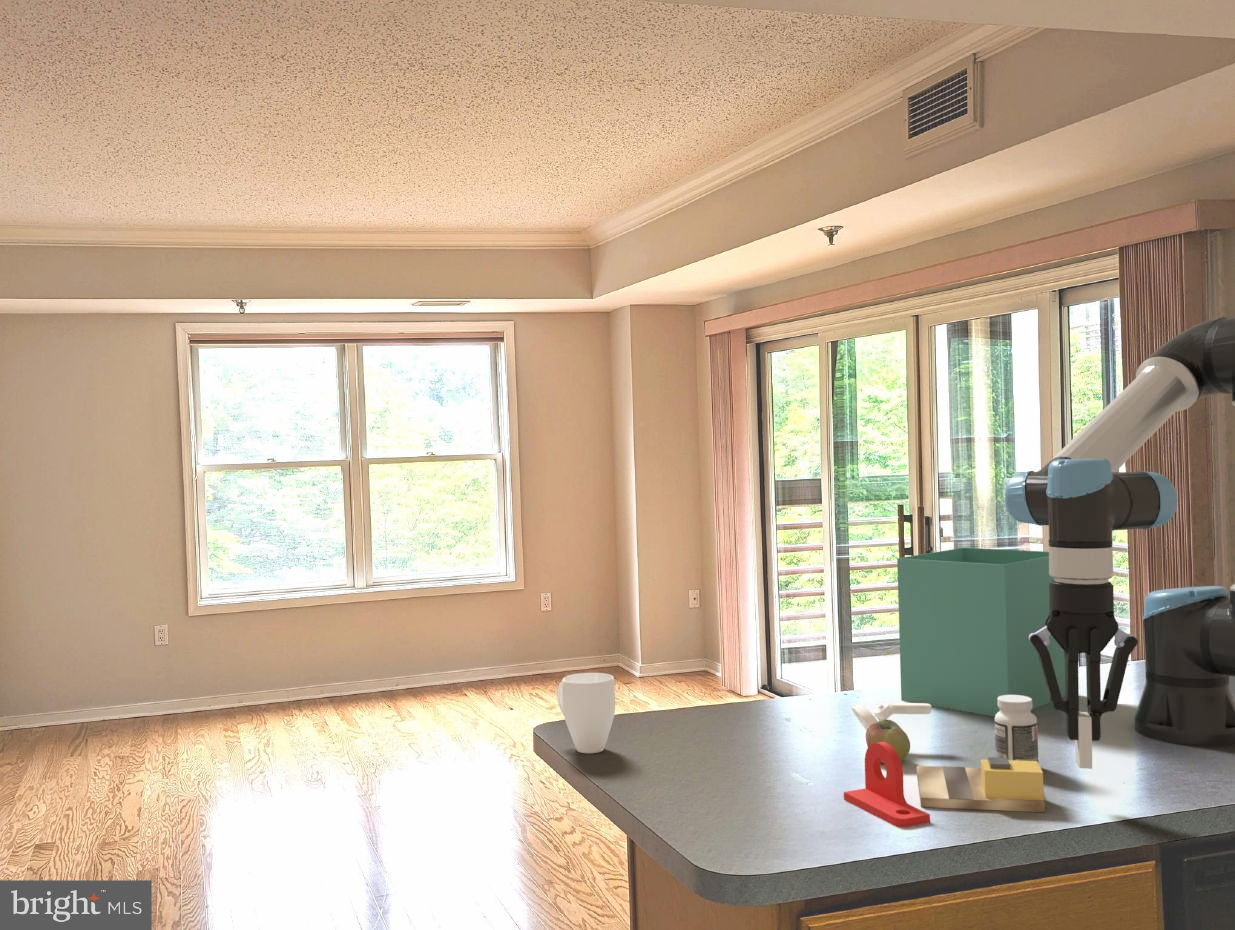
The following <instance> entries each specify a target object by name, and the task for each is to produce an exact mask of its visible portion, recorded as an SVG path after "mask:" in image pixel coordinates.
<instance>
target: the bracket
mask: <svg viewBox="0 0 1235 930" xmlns="http://www.w3.org/2000/svg"><path fill="white" fill-rule="evenodd" d="M864 756H865V757H864V776H865V777H864V780H865V781H864V782H865V783H864V784H865V785H864V786H865V788H859V789H854V790H848V791H844V792H843V801H846V802H848V803H849V804H852V805H853V806H856V807H857V808H859V809H861V810H863V811H865V812H867V813H868V814H871V815H873V816H875V817H877V818H879V819H881V820H883V821H884V822H886V823H889V824H890V825H892V826H894V827H898V828H909V827H912V826H918V825H925V824H928V823H931V814H930V813H928V812H926V811H923V810H922V809H919V808H918V807H915V806H913V805H911V804H909V803H908V802H907V800H906V798H905V795H904V791H905V790H904V770H903V766H902V765H903V764H902V762H901V761H900V758H899V756H898V754H897V752H896V751H895V749H894V748H893V747H892V746H891V745H890V744H888V743H886V742H879V743H873V744H871V745H870V746H869V747H868V746H867V748H866V751H865V755H864ZM881 760H882V761H883V762H884V763H883V764H884V767H885V770H886V774H885V776H884V773H883V772H882V768H881V764H882V763H881Z"/></svg>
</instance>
